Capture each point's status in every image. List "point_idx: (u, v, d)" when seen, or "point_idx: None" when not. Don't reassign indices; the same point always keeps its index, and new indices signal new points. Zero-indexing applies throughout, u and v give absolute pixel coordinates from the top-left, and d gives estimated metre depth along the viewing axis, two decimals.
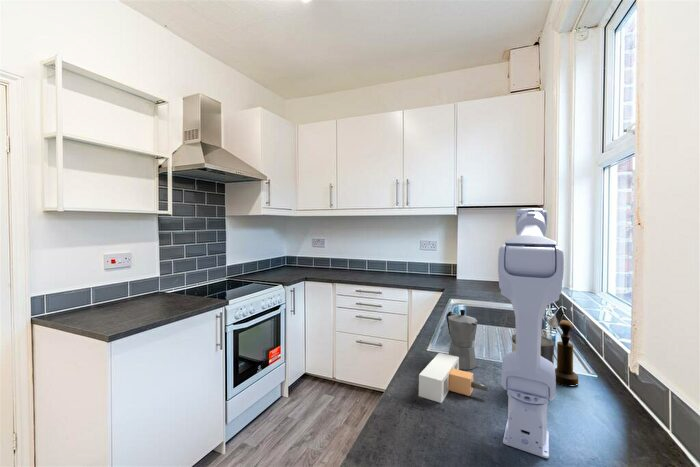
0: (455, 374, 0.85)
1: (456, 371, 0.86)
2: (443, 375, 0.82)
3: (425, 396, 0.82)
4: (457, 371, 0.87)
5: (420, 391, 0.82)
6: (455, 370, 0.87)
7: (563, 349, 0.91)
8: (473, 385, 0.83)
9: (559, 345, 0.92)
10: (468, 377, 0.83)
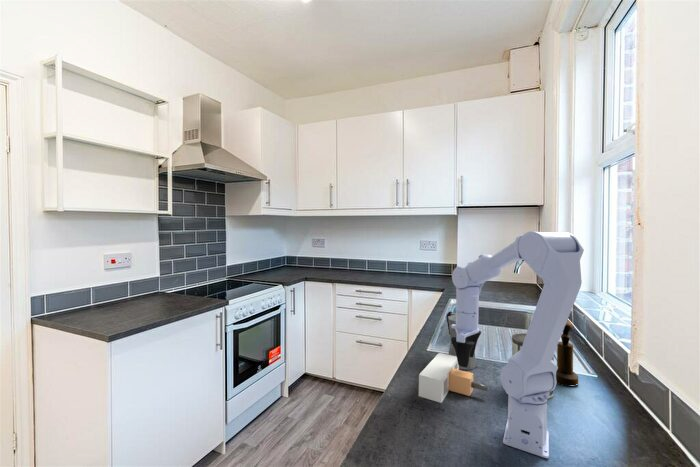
0: (455, 374, 0.85)
1: (456, 371, 0.86)
2: (443, 375, 0.82)
3: (425, 396, 0.82)
4: (457, 371, 0.87)
5: (420, 391, 0.82)
6: (455, 370, 0.87)
7: (563, 349, 0.91)
8: (473, 385, 0.83)
9: (559, 345, 0.92)
10: (468, 377, 0.83)
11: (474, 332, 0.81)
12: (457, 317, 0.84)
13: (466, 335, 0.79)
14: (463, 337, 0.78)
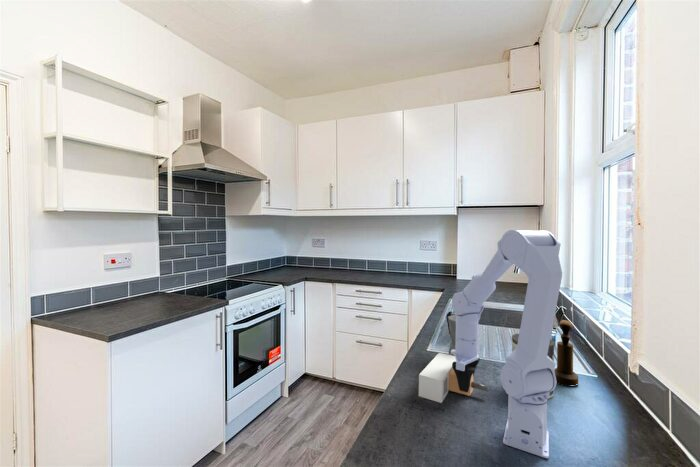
0: (455, 374, 0.85)
1: None
2: (443, 375, 0.82)
3: (425, 396, 0.82)
4: None
5: (420, 391, 0.82)
6: None
7: (563, 349, 0.91)
8: (473, 385, 0.83)
9: (559, 345, 0.92)
10: None
11: (474, 359, 0.82)
12: (457, 343, 0.84)
13: (466, 363, 0.79)
14: (463, 365, 0.78)
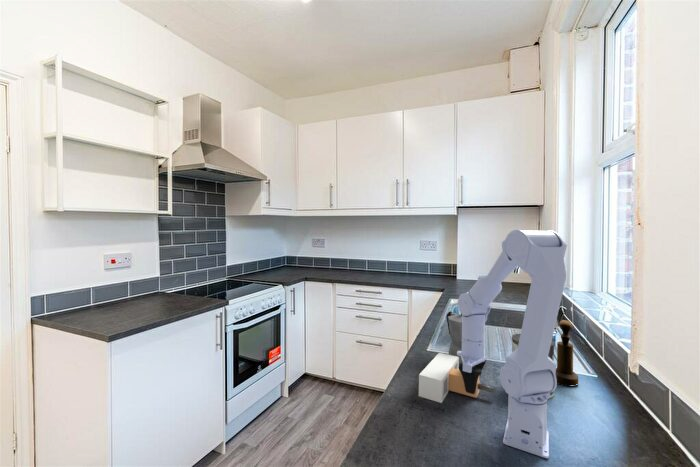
0: (461, 376, 0.84)
1: None
2: (443, 375, 0.82)
3: (425, 396, 0.82)
4: None
5: (420, 391, 0.82)
6: None
7: (563, 349, 0.91)
8: (480, 387, 0.82)
9: (559, 345, 0.92)
10: None
11: (480, 361, 0.81)
12: (463, 345, 0.83)
13: (472, 364, 0.78)
14: (469, 367, 0.77)
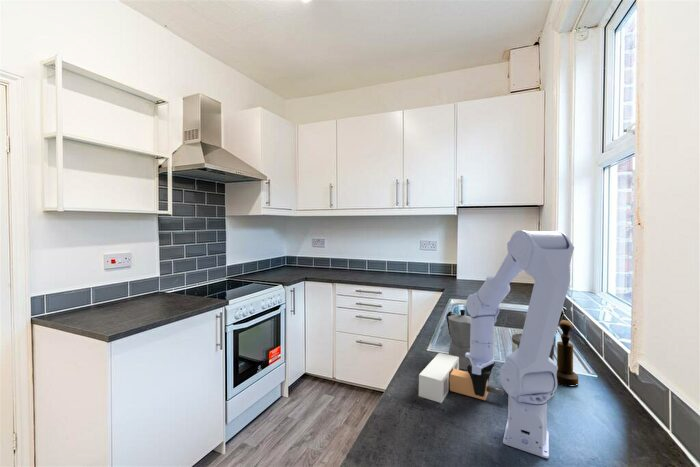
0: (469, 378, 0.83)
1: None
2: (443, 375, 0.82)
3: (425, 396, 0.82)
4: None
5: (420, 391, 0.82)
6: None
7: (563, 349, 0.91)
8: (488, 389, 0.81)
9: (559, 345, 0.92)
10: None
11: (489, 363, 0.80)
12: (472, 346, 0.82)
13: (482, 367, 0.77)
14: (479, 369, 0.76)
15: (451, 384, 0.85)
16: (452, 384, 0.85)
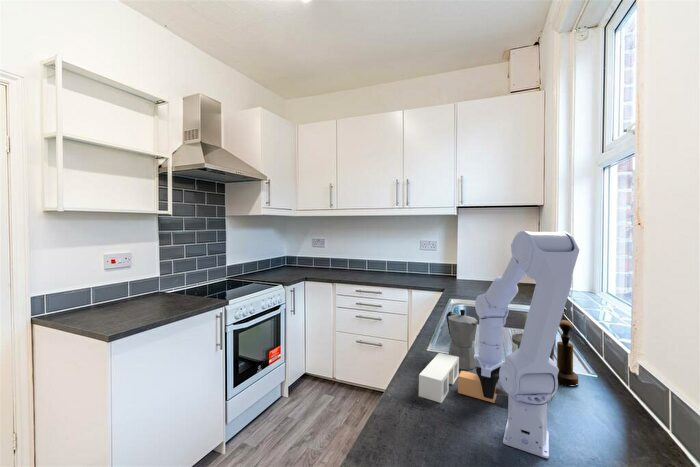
0: (478, 380, 0.82)
1: (478, 377, 0.83)
2: (443, 375, 0.82)
3: (425, 396, 0.82)
4: None
5: (420, 391, 0.82)
6: None
7: (563, 349, 0.91)
8: (497, 391, 0.80)
9: (559, 345, 0.92)
10: None
11: (499, 365, 0.78)
12: (480, 348, 0.81)
13: (491, 369, 0.76)
14: (488, 371, 0.75)
15: (459, 386, 0.84)
16: (460, 386, 0.84)
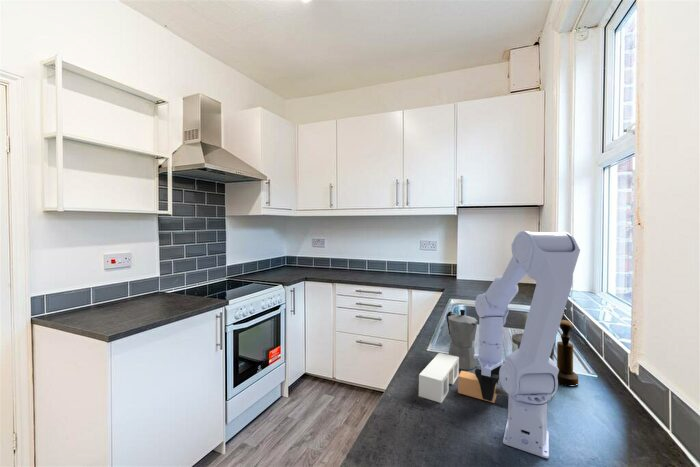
0: None
1: None
2: (443, 375, 0.82)
3: (425, 396, 0.82)
4: None
5: (420, 391, 0.82)
6: None
7: (563, 349, 0.91)
8: (497, 391, 0.80)
9: (559, 345, 0.92)
10: None
11: (499, 364, 0.78)
12: (480, 347, 0.81)
13: (491, 368, 0.76)
14: (489, 371, 0.75)
15: (459, 386, 0.84)
16: (460, 386, 0.84)
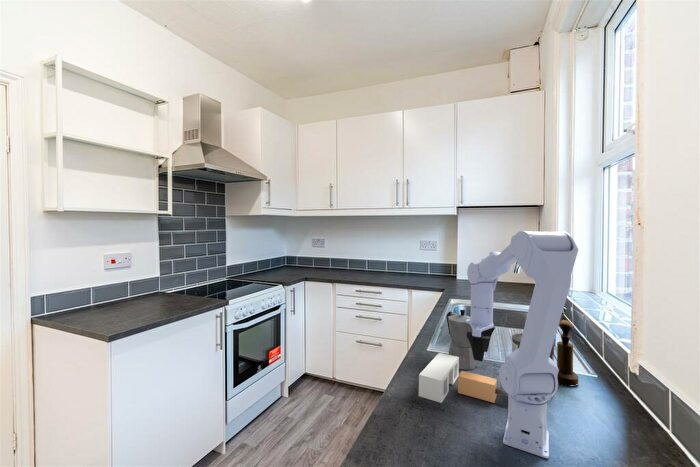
0: (478, 380, 0.82)
1: (478, 377, 0.83)
2: (443, 375, 0.82)
3: (425, 396, 0.82)
4: (480, 377, 0.83)
5: (420, 391, 0.82)
6: (478, 376, 0.84)
7: (563, 349, 0.91)
8: (497, 391, 0.80)
9: (559, 345, 0.92)
10: (492, 383, 0.80)
11: (489, 327, 0.83)
12: (472, 312, 0.86)
13: (482, 329, 0.81)
14: (479, 331, 0.80)
15: (459, 386, 0.84)
16: (460, 386, 0.84)
